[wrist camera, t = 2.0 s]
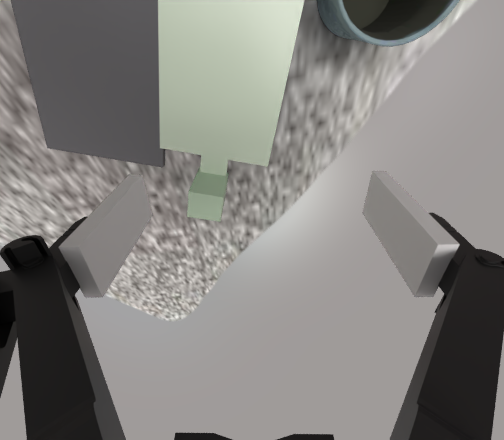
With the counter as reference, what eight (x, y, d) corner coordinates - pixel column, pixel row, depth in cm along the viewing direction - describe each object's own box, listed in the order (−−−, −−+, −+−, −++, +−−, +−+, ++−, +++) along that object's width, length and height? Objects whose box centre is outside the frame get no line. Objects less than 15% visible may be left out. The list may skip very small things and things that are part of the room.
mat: (51, 145, 39) (47, 148, 38) (0, -70, 27) (-8, -74, 26) (164, 164, 40) (162, 167, 39) (164, -33, 28) (161, -35, 27)
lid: (164, 182, 34) (146, 210, 28) (163, -83, 21) (130, -126, 16) (259, 198, 35) (259, 227, 29) (312, -46, 22) (330, -75, 17)
